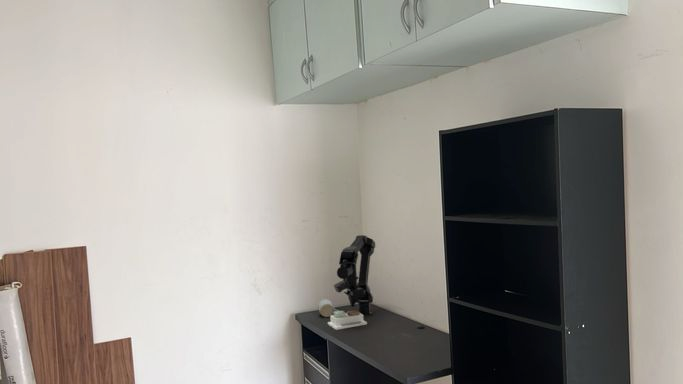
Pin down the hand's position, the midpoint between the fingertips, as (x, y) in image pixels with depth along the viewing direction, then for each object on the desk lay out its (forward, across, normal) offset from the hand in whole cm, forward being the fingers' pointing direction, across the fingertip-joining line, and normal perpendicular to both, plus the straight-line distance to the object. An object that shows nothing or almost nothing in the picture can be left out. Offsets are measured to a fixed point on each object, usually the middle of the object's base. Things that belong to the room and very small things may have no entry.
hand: (352, 306), depth 266 cm
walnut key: (+6, 0, 0) cm, 6 cm away
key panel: (+8, +1, -4) cm, 9 cm away
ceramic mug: (+8, -20, -5) cm, 22 cm away
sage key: (+5, 0, -7) cm, 8 cm away
